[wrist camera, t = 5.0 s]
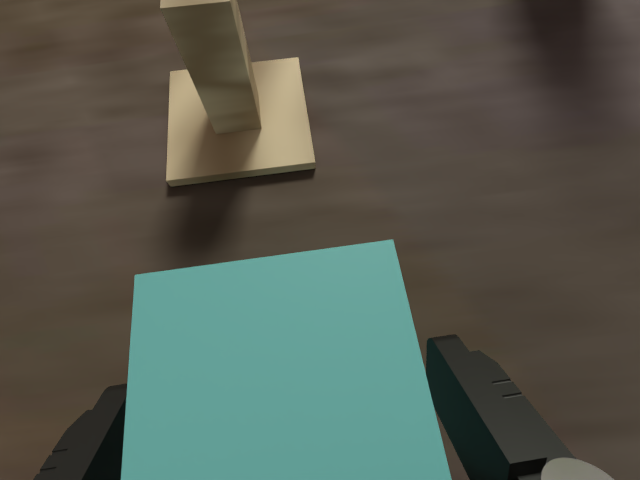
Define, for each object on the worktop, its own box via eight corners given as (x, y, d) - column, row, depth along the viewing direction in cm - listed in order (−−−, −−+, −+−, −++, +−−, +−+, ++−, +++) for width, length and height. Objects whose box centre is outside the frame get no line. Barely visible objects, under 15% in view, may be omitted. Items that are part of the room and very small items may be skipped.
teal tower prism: (356, 312, 16) (393, 239, 7) (381, 450, 14) (472, 565, 5) (236, 330, 15) (135, 274, 7) (243, 473, 13) (110, 631, 5)
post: (298, 65, 22) (286, -84, 15) (315, 168, 19) (310, 43, 12) (174, 79, 21) (101, -67, 14) (170, 186, 18) (76, 68, 11)
